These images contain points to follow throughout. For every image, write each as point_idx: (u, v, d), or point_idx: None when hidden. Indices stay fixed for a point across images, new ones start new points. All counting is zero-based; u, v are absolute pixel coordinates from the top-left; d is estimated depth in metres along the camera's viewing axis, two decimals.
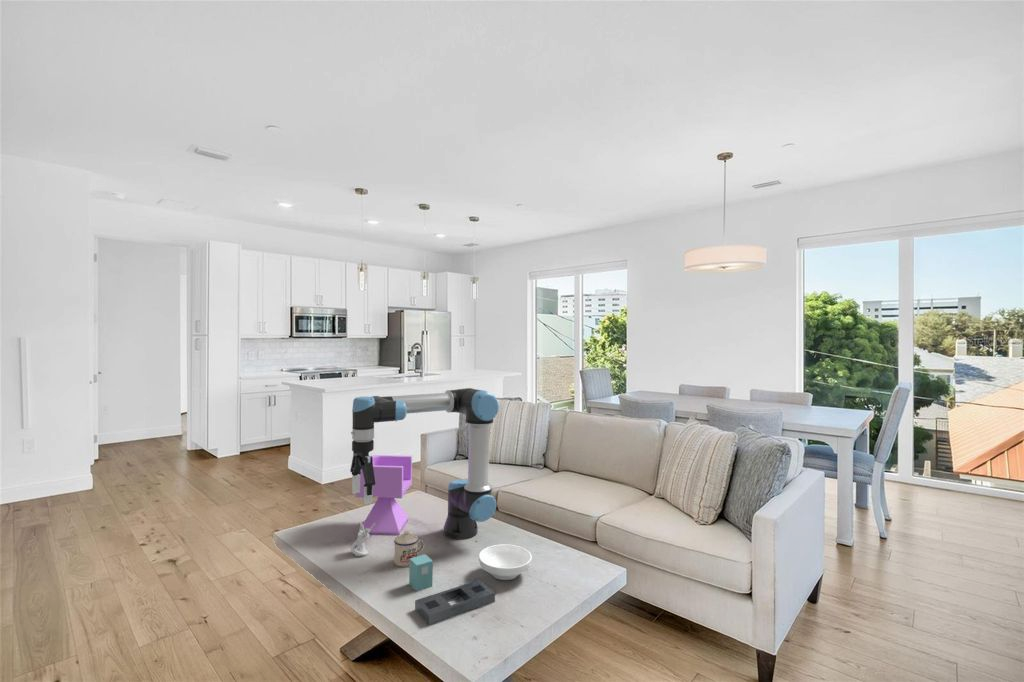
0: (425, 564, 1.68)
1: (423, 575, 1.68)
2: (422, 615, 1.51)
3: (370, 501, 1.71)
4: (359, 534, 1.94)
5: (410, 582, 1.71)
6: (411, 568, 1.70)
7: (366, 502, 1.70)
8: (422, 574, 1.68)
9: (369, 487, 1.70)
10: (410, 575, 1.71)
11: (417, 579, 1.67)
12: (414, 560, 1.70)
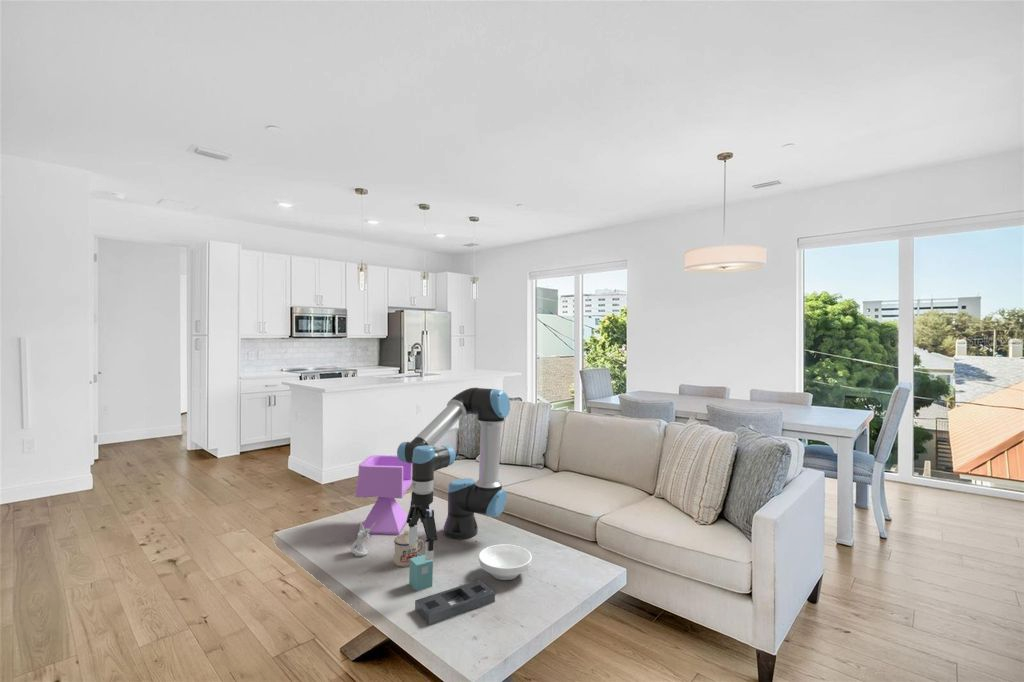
0: (425, 564, 1.68)
1: (423, 575, 1.68)
2: (422, 615, 1.51)
3: (431, 557, 1.65)
4: (359, 534, 1.94)
5: (410, 582, 1.71)
6: (411, 568, 1.70)
7: (427, 558, 1.64)
8: (422, 574, 1.68)
9: (431, 542, 1.63)
10: (410, 575, 1.71)
11: (417, 579, 1.67)
12: (414, 560, 1.70)
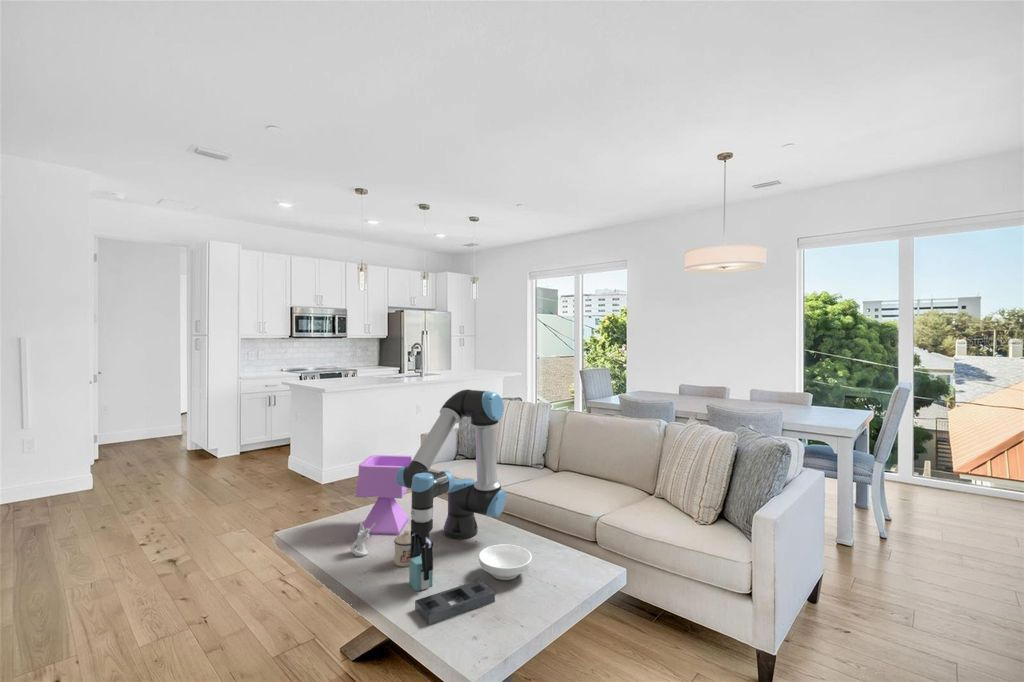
0: None
1: None
2: (422, 615, 1.51)
3: (427, 586, 1.68)
4: (359, 534, 1.94)
5: (410, 582, 1.70)
6: (411, 568, 1.70)
7: (423, 587, 1.67)
8: None
9: (426, 572, 1.66)
10: (410, 575, 1.71)
11: (417, 579, 1.67)
12: (414, 560, 1.70)
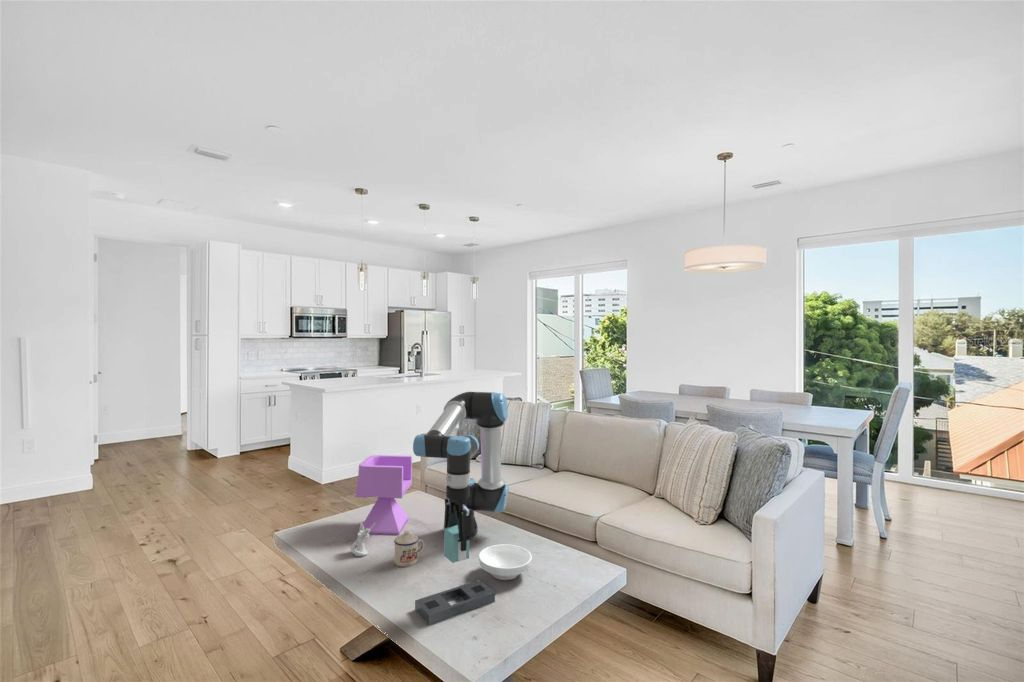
0: None
1: None
2: (422, 615, 1.51)
3: (464, 557, 1.55)
4: (359, 534, 1.94)
5: (445, 553, 1.58)
6: (446, 538, 1.57)
7: (460, 558, 1.55)
8: None
9: (464, 542, 1.54)
10: (445, 546, 1.58)
11: (453, 550, 1.54)
12: (449, 530, 1.57)
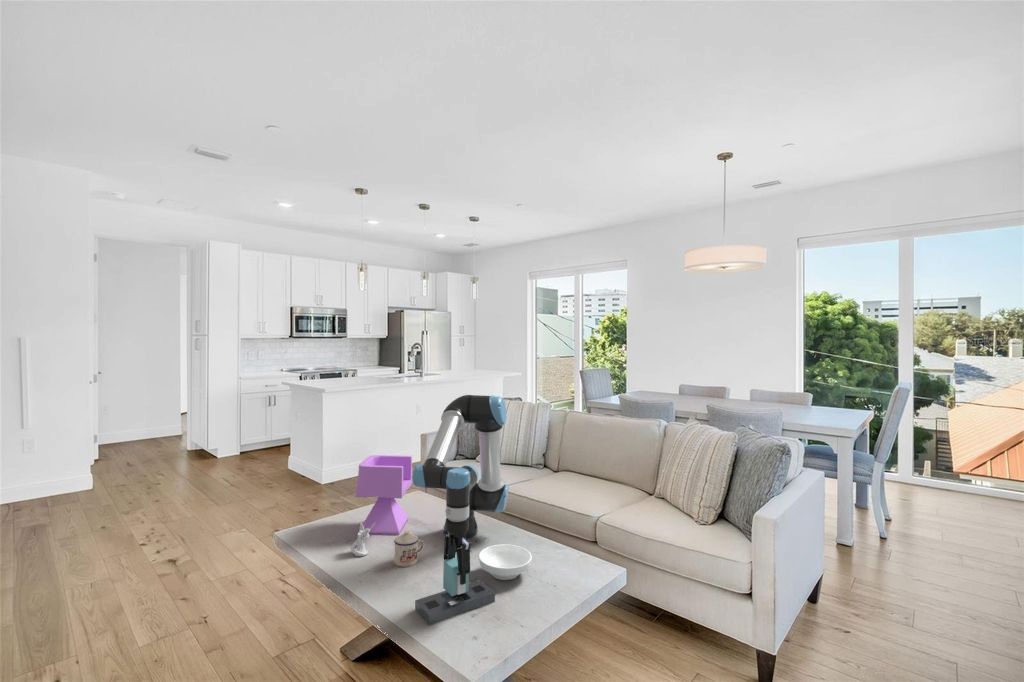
0: None
1: None
2: (422, 615, 1.51)
3: (463, 590, 1.55)
4: (359, 534, 1.94)
5: (444, 586, 1.58)
6: (446, 571, 1.57)
7: (459, 592, 1.55)
8: None
9: (463, 576, 1.54)
10: (444, 578, 1.58)
11: (452, 583, 1.54)
12: (449, 562, 1.57)
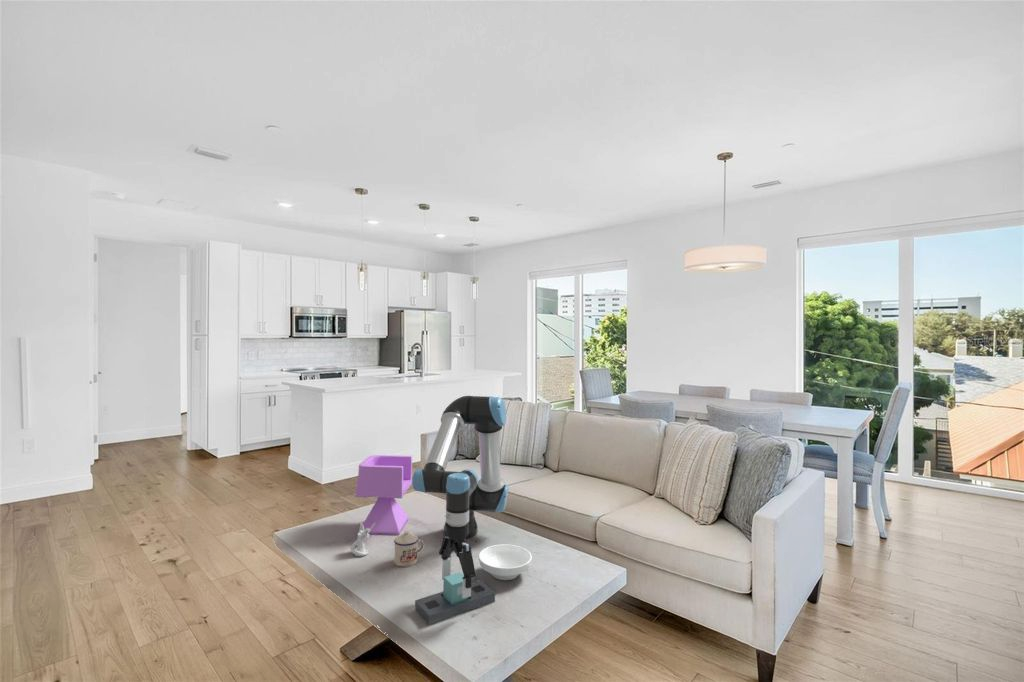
0: (461, 583, 1.56)
1: (459, 595, 1.56)
2: (422, 615, 1.51)
3: (468, 594, 1.53)
4: (359, 534, 1.94)
5: None
6: (445, 588, 1.57)
7: (465, 596, 1.52)
8: (457, 594, 1.55)
9: (468, 579, 1.51)
10: (444, 595, 1.58)
11: (452, 600, 1.54)
12: (449, 579, 1.57)
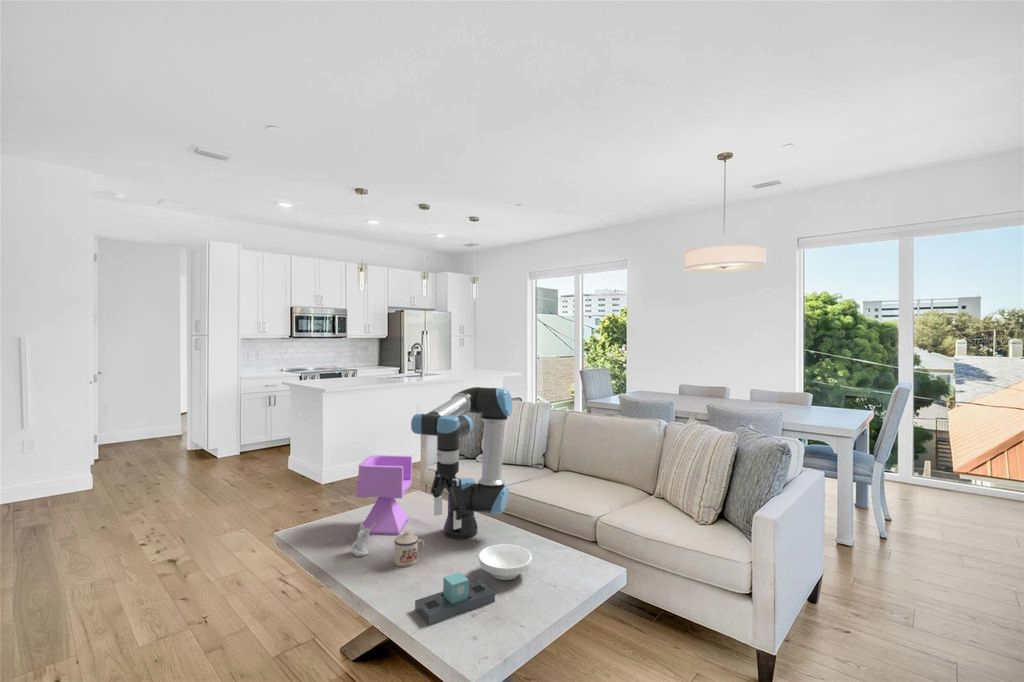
0: (461, 583, 1.56)
1: (459, 595, 1.55)
2: (422, 615, 1.51)
3: (459, 525, 1.64)
4: (359, 534, 1.94)
5: None
6: (445, 588, 1.57)
7: (455, 527, 1.63)
8: (457, 594, 1.55)
9: (459, 511, 1.62)
10: (444, 595, 1.58)
11: (452, 600, 1.54)
12: (449, 579, 1.57)
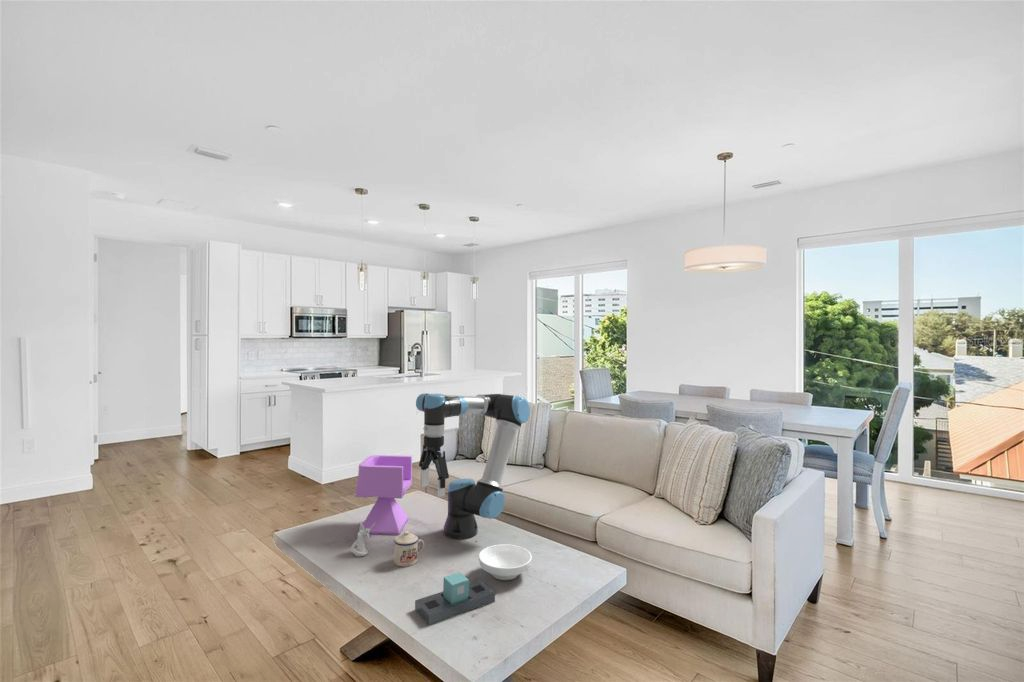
0: (461, 583, 1.56)
1: (459, 595, 1.55)
2: (422, 615, 1.51)
3: (443, 494, 1.78)
4: (359, 534, 1.94)
5: None
6: (445, 588, 1.57)
7: (439, 495, 1.77)
8: (457, 594, 1.55)
9: (443, 480, 1.77)
10: (444, 595, 1.58)
11: (452, 600, 1.54)
12: (449, 579, 1.57)
